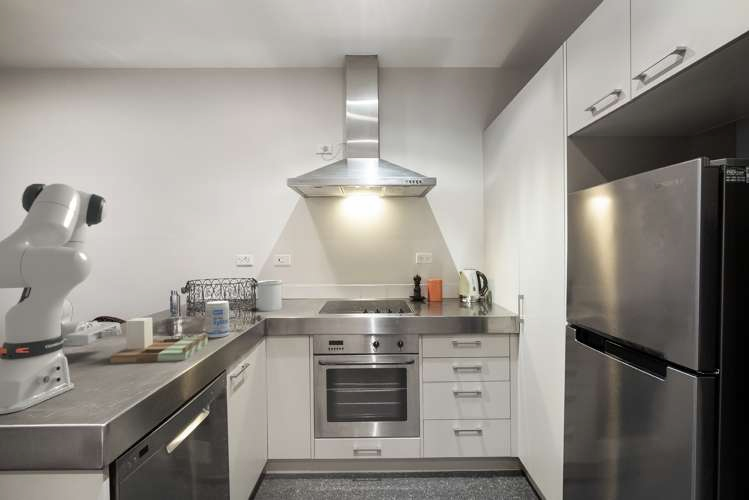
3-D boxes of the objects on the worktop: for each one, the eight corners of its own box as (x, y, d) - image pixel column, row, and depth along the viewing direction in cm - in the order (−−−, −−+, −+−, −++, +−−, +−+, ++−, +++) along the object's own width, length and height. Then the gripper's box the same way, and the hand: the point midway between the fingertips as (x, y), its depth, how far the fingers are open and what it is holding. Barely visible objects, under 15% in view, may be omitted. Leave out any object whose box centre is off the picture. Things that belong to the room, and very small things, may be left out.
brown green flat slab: (185, 359, 126) (185, 348, 126) (110, 363, 124) (110, 351, 123) (207, 343, 148) (207, 333, 148) (144, 346, 145) (143, 335, 145)
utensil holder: (278, 311, 221) (278, 282, 221) (254, 311, 221) (253, 282, 221) (285, 307, 236) (284, 279, 236) (262, 307, 236) (261, 280, 236)
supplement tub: (215, 339, 154) (214, 304, 154) (200, 337, 159) (200, 302, 159) (234, 334, 163) (233, 301, 163) (220, 332, 167) (219, 299, 167)
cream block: (144, 348, 132) (144, 320, 132) (126, 349, 132) (126, 321, 131) (152, 344, 138) (152, 317, 138) (135, 344, 138) (135, 318, 137)
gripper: (56, 332, 122) (100, 330, 124) (95, 319, 143) (133, 318, 144) (56, 351, 122) (101, 349, 124) (96, 336, 143) (134, 334, 144)
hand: (119, 332), depth 134 cm, fingers closed
